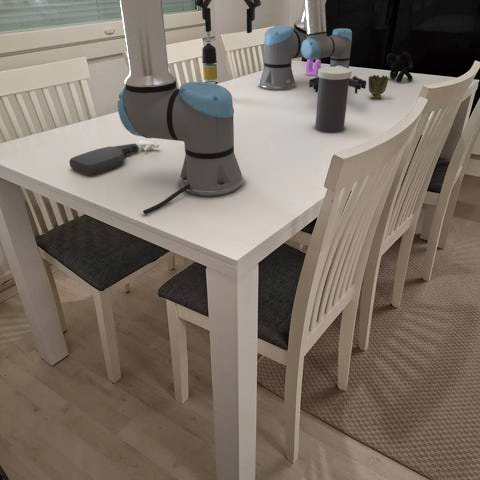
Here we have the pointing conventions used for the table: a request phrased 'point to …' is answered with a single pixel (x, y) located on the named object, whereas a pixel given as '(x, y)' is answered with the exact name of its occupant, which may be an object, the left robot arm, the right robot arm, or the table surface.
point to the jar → (331, 105)
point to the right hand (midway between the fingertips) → (336, 89)
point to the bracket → (310, 67)
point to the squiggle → (399, 66)
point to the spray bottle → (106, 157)
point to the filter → (209, 61)
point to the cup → (377, 85)
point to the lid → (334, 73)
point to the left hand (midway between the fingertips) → (228, 32)
